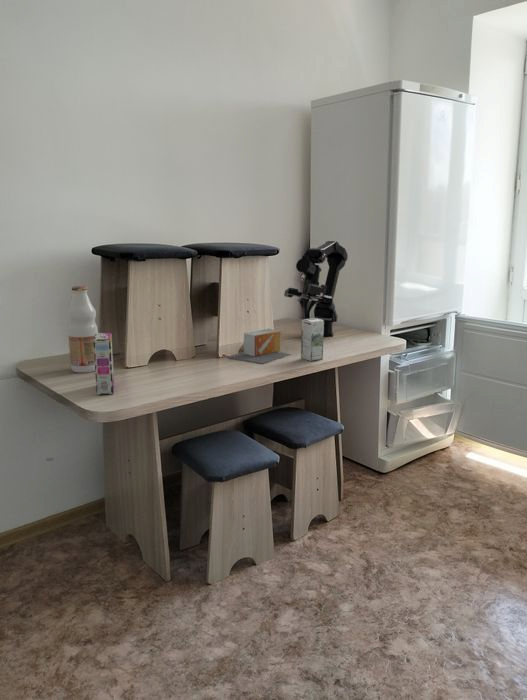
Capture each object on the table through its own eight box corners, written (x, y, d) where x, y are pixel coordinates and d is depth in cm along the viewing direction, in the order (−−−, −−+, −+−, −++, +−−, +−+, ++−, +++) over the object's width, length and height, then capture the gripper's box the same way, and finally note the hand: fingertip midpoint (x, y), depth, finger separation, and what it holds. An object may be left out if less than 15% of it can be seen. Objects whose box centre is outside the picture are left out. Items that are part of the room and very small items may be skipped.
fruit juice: (67, 373, 188) (60, 288, 182) (76, 366, 197) (70, 285, 191) (95, 373, 188) (89, 288, 181) (103, 366, 197) (98, 285, 191)
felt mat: (255, 349, 221) (255, 348, 220) (290, 354, 211) (290, 354, 211) (227, 357, 207) (227, 357, 207) (263, 364, 198) (263, 363, 198)
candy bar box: (114, 394, 165) (110, 339, 161) (96, 396, 164) (92, 340, 160) (115, 384, 175) (111, 331, 172) (98, 385, 174) (94, 332, 170)
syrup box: (313, 356, 209) (313, 317, 206) (323, 359, 204) (324, 319, 201) (300, 358, 206) (301, 318, 202) (311, 361, 201) (311, 321, 198)
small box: (280, 351, 215) (254, 357, 207) (269, 348, 220) (243, 354, 212) (280, 330, 214) (254, 335, 205) (269, 328, 218) (243, 332, 210)
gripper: (295, 270, 217) (289, 310, 215) (340, 281, 221) (334, 320, 220) (287, 275, 227) (280, 314, 226) (330, 285, 232) (324, 323, 230)
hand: (305, 317), depth 225 cm, fingers closed
